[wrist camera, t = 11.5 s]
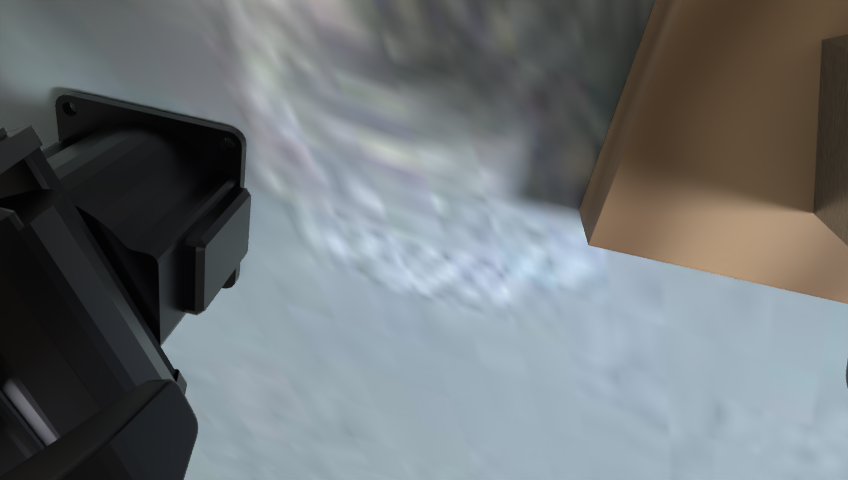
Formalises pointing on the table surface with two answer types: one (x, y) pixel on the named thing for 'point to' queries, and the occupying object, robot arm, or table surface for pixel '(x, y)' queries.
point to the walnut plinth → (722, 145)
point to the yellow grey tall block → (833, 138)
